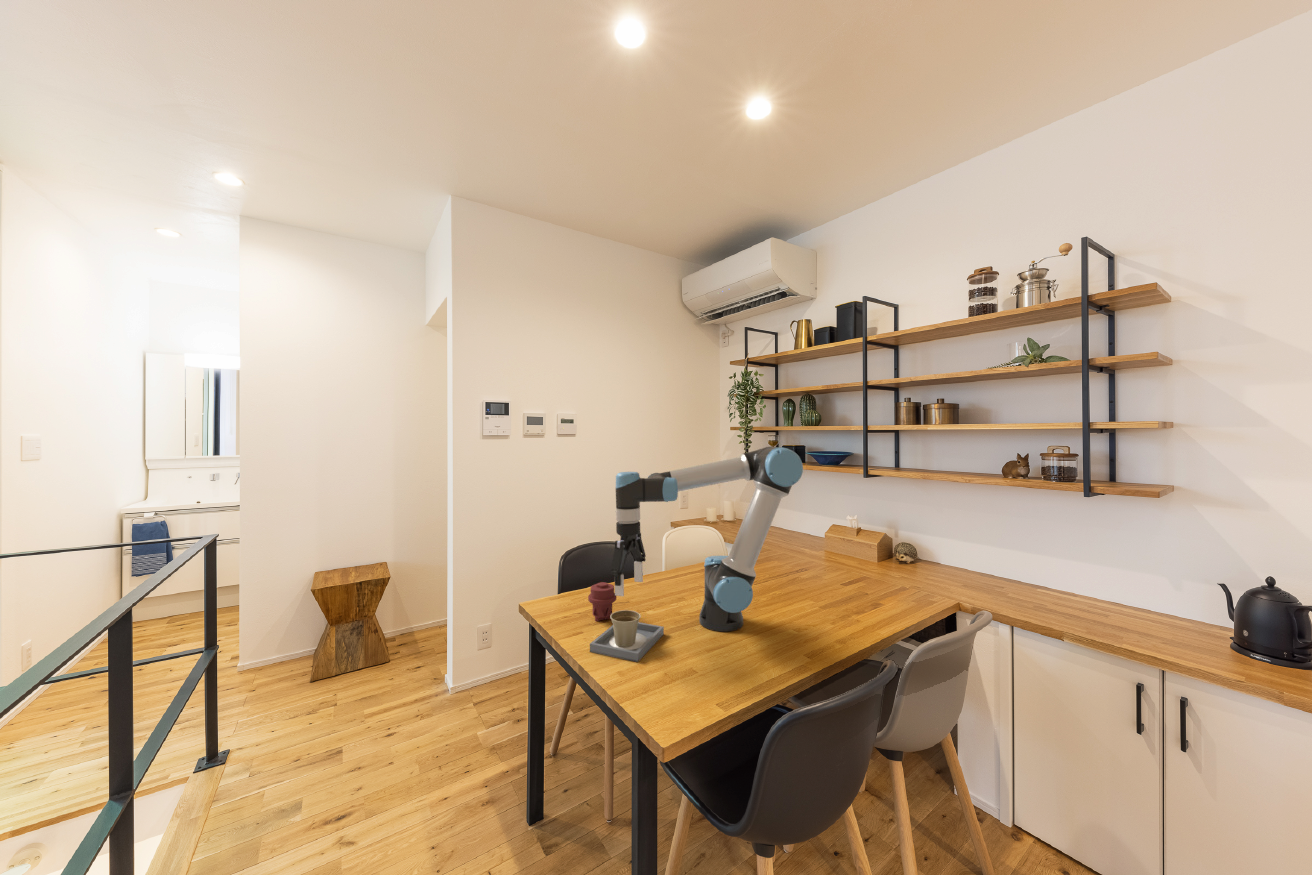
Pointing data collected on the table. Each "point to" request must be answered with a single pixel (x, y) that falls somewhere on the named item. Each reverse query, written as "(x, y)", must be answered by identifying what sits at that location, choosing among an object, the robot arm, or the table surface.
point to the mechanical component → (602, 600)
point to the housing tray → (643, 642)
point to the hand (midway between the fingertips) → (629, 588)
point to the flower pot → (625, 627)
